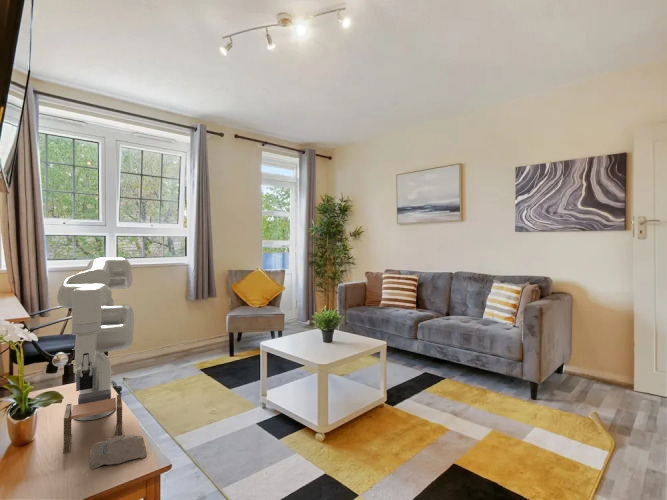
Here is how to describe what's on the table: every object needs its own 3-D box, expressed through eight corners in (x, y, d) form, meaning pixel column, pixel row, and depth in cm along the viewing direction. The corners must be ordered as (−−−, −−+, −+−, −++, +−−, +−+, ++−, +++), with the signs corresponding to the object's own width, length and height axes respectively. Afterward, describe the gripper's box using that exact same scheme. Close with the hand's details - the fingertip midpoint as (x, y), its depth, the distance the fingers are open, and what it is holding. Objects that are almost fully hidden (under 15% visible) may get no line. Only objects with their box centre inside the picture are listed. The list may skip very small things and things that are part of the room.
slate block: (77, 385, 111) (77, 369, 111) (96, 382, 114) (96, 366, 114) (76, 391, 107) (76, 374, 107) (96, 387, 110) (96, 371, 109)
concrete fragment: (145, 461, 102) (145, 440, 102) (87, 472, 97) (87, 450, 97) (147, 447, 109) (147, 428, 109) (93, 457, 103) (93, 437, 103)
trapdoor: (74, 404, 119) (74, 395, 118) (114, 396, 125) (114, 388, 125) (70, 422, 107) (70, 413, 107) (116, 413, 113) (116, 404, 113)
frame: (65, 437, 113) (65, 404, 113) (121, 424, 122) (121, 394, 121) (62, 453, 105) (62, 418, 104) (122, 438, 113) (122, 406, 113)
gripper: (73, 323, 115) (73, 378, 115) (69, 335, 101) (69, 399, 101) (101, 320, 119) (101, 374, 119) (101, 332, 105) (100, 393, 105)
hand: (86, 385), depth 110 cm, fingers closed on slate block, 5 cm apart
